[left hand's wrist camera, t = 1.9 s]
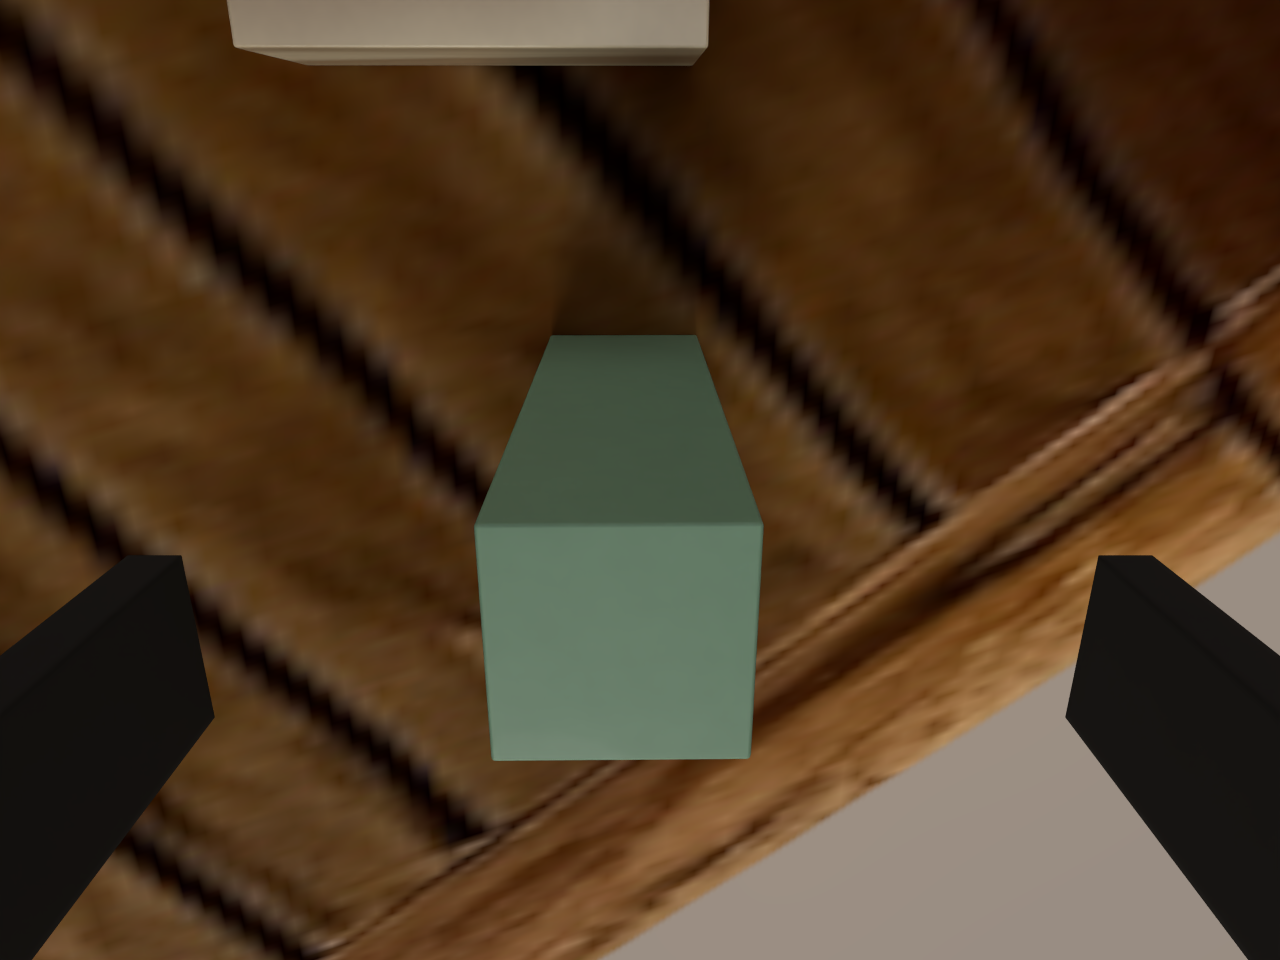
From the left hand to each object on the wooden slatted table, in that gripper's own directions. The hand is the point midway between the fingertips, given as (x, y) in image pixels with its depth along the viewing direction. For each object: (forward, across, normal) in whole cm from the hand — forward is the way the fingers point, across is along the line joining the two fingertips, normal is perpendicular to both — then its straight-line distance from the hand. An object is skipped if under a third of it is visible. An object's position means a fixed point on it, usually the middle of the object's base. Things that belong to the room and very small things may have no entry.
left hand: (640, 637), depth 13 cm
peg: (+11, 0, 0) cm, 11 cm away
